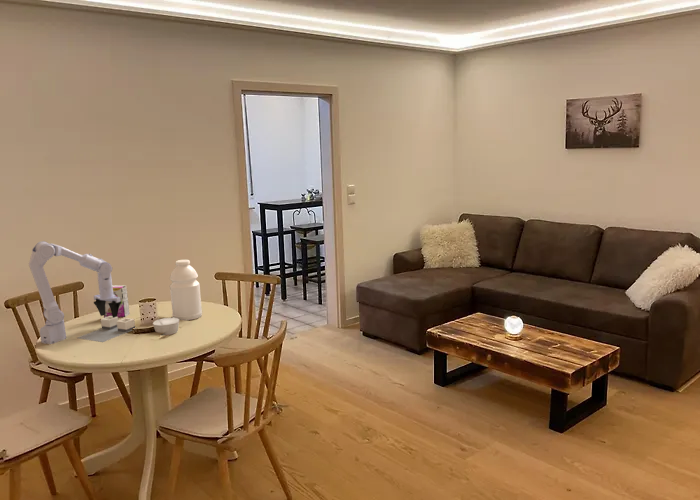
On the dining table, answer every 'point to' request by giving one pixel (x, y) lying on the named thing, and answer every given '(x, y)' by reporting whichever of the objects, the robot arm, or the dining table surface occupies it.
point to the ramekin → (166, 326)
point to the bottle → (185, 292)
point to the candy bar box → (124, 306)
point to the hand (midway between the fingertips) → (108, 316)
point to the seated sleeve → (125, 324)
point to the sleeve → (109, 322)
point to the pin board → (102, 335)
